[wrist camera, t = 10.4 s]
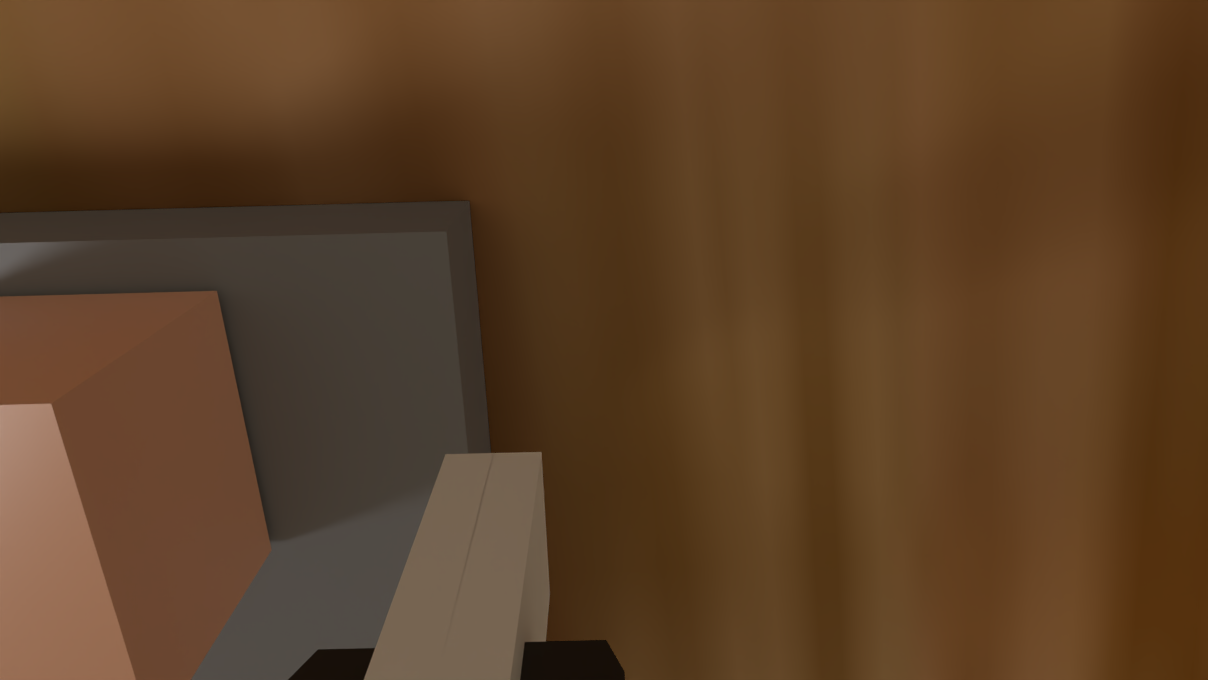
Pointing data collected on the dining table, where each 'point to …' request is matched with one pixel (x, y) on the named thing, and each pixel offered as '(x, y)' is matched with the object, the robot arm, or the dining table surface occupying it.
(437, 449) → the console
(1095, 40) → the dining table surface
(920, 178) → the dining table surface
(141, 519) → the salmon orange block
